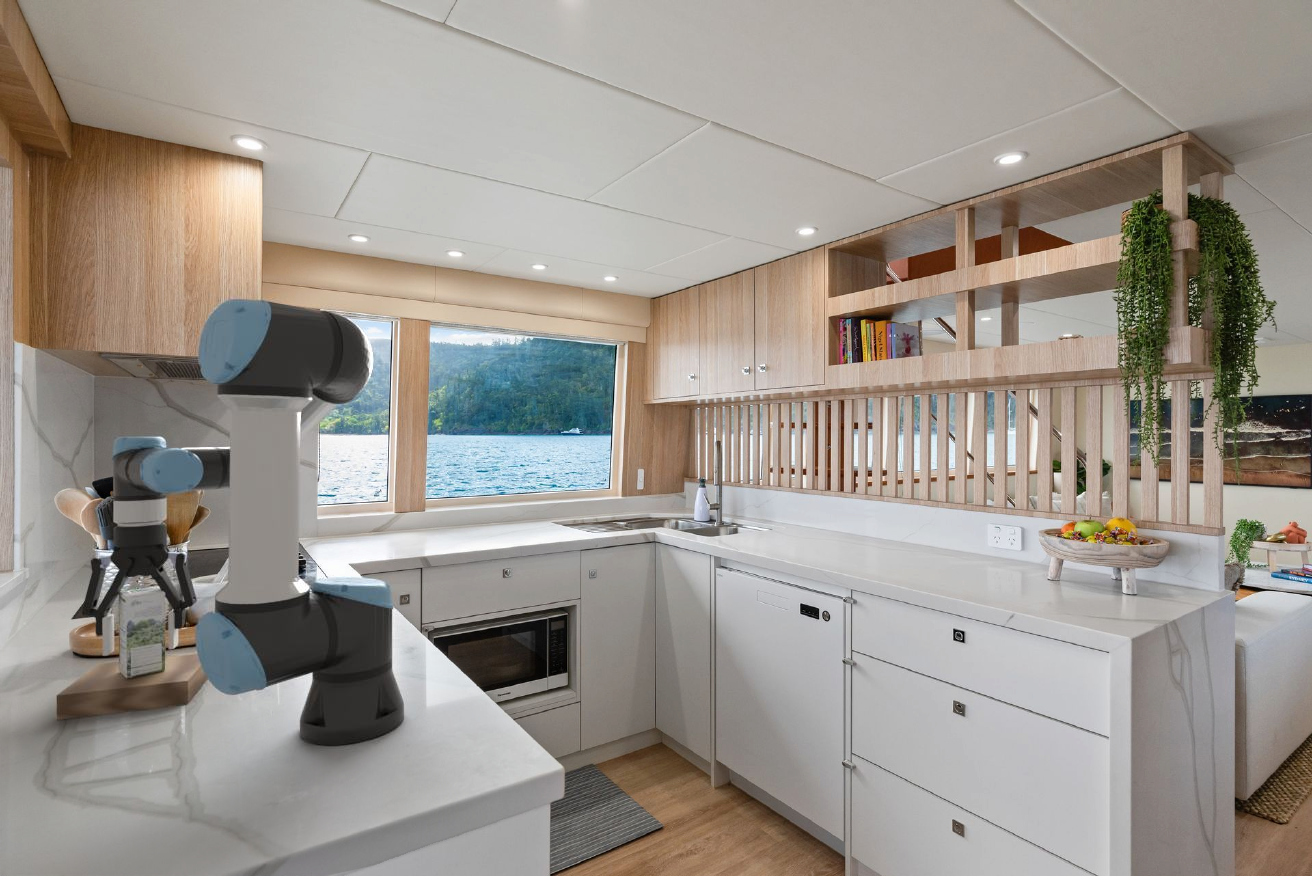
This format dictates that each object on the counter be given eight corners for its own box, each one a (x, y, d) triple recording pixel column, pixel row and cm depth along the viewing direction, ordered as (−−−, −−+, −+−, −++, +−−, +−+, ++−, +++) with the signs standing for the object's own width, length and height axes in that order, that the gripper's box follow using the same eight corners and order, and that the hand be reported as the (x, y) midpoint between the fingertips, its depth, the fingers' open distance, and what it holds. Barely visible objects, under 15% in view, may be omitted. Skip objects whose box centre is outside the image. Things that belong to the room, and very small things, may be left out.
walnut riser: (212, 672, 130) (212, 652, 130) (188, 703, 115) (188, 680, 115) (98, 685, 124) (98, 663, 124) (56, 720, 109) (56, 695, 109)
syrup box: (158, 663, 123) (156, 585, 123) (166, 671, 120) (165, 589, 119) (118, 672, 119) (117, 590, 119) (126, 680, 115) (125, 595, 115)
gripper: (217, 517, 127) (217, 637, 127) (74, 523, 119) (75, 650, 119) (206, 522, 120) (207, 649, 120) (54, 529, 112) (55, 664, 112)
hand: (141, 649), depth 119 cm, fingers open, 9 cm apart
